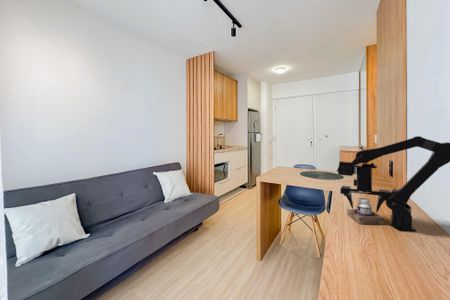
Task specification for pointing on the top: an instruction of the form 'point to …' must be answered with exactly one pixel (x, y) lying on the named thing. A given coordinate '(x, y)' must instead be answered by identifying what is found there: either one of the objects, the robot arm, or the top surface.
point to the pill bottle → (364, 207)
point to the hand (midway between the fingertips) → (364, 210)
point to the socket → (365, 217)
